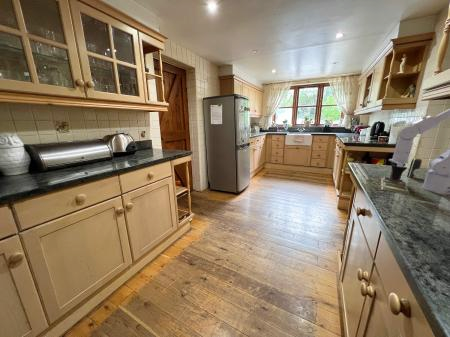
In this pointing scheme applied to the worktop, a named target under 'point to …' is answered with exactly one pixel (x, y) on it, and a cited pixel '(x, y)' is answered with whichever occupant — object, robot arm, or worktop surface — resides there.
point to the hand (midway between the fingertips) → (394, 178)
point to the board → (394, 186)
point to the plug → (392, 179)
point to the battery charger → (414, 167)
